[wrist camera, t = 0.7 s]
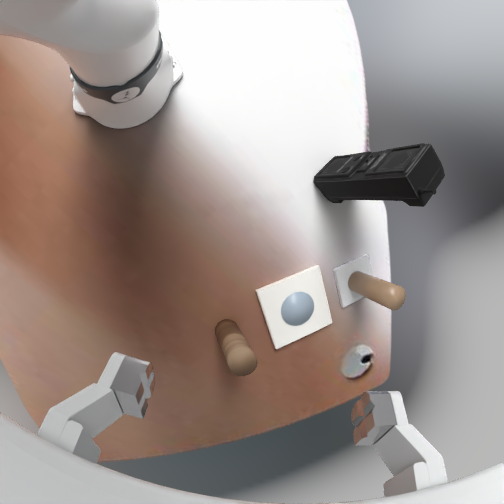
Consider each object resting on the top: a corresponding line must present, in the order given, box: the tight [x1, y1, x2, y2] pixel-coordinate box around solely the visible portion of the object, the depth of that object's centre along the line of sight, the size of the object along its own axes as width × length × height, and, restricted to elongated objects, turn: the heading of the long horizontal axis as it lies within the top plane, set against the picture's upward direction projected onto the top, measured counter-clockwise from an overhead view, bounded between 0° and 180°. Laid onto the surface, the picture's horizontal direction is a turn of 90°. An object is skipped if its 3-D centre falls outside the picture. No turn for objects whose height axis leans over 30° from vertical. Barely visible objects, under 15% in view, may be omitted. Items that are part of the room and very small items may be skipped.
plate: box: [256, 265, 332, 349], centre depth 52 cm, size 12×12×1 cm
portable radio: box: [314, 144, 445, 206], centre depth 39 cm, size 8×6×25 cm
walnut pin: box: [215, 320, 257, 376], centre depth 44 cm, size 4×4×12 cm
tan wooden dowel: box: [333, 254, 406, 310], centre depth 49 cm, size 8×8×13 cm
